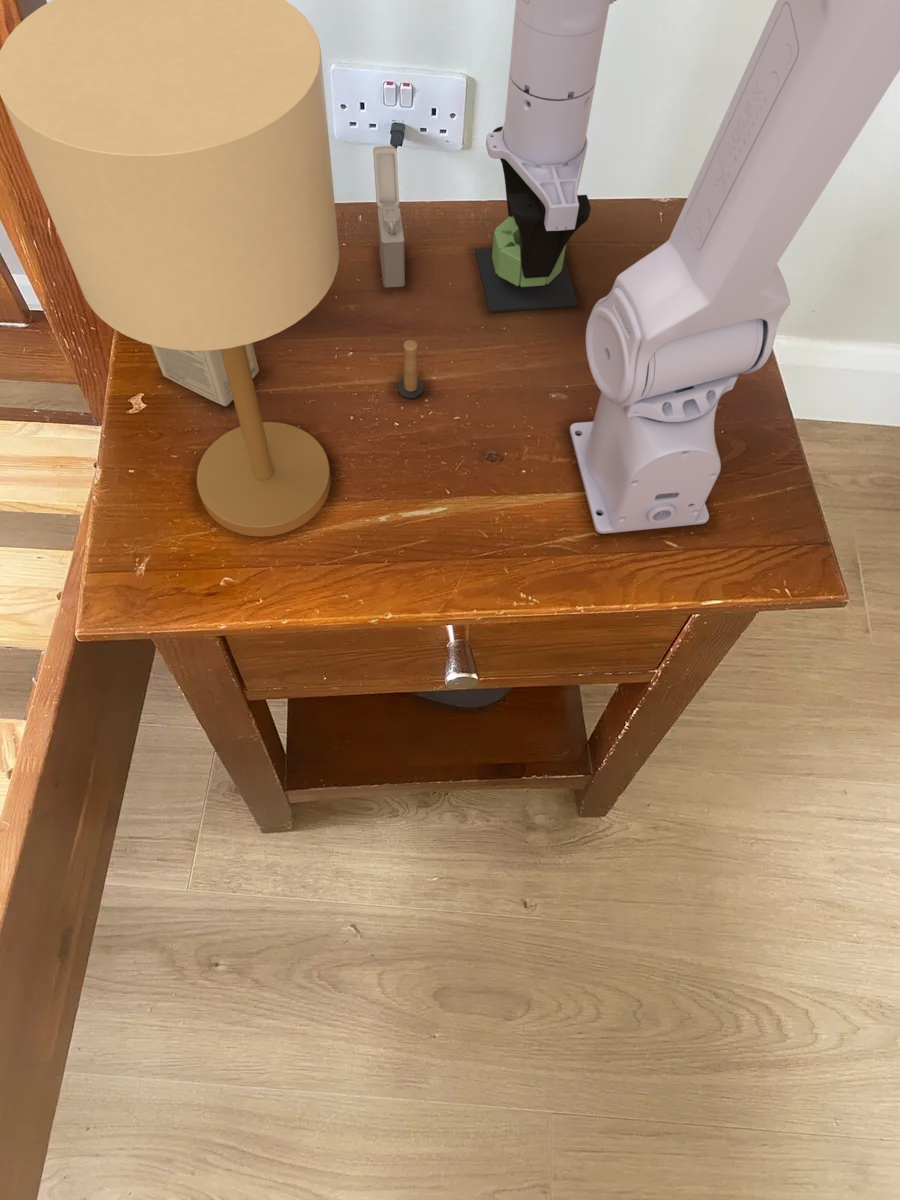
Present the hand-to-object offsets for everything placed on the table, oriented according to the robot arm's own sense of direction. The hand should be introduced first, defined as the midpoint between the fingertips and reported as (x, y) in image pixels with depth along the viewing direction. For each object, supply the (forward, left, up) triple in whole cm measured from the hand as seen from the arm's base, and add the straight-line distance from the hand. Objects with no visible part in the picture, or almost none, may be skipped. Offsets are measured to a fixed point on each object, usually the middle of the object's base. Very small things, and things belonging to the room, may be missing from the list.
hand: (529, 248), depth 70 cm
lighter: (+4, +11, -3) cm, 12 cm away
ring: (0, 0, -1) cm, 1 cm away
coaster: (0, 0, -3) cm, 3 cm away
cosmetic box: (-8, +25, -3) cm, 27 cm away
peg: (-11, +11, -3) cm, 16 cm away
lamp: (-18, +22, -3) cm, 29 cm away
